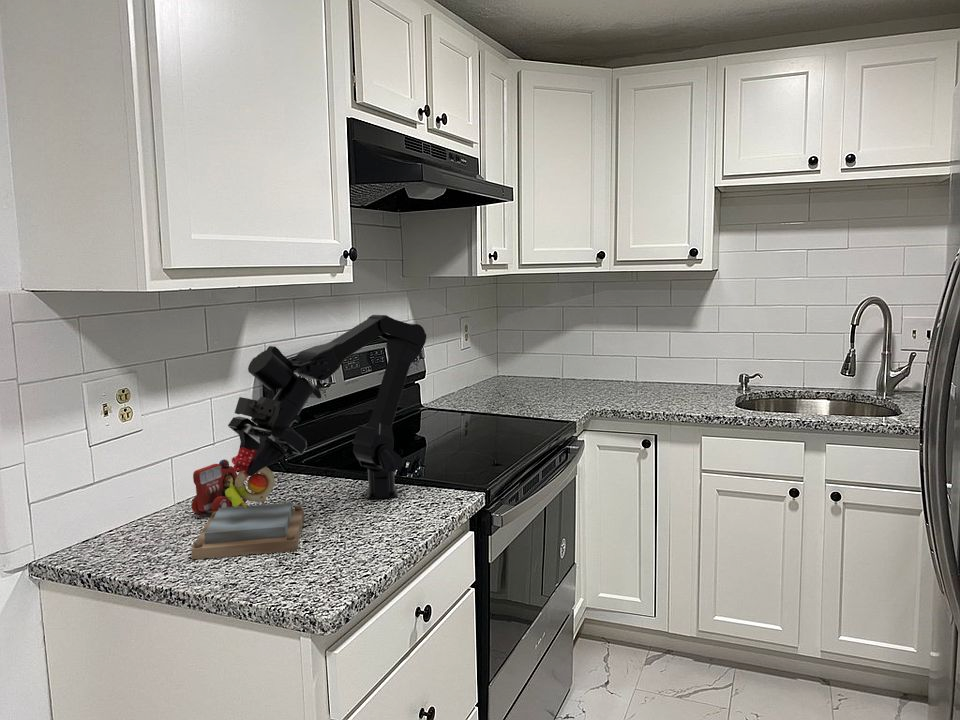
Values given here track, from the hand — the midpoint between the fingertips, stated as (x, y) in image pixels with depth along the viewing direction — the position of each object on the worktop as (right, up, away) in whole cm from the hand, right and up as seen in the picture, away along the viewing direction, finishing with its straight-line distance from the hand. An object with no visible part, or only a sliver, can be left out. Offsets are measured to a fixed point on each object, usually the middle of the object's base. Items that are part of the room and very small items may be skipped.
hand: (241, 472), depth 138 cm
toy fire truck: (-11, -11, +19) cm, 24 cm away
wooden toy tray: (+1, -13, +3) cm, 13 cm away
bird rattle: (+1, -6, +2) cm, 7 cm away
